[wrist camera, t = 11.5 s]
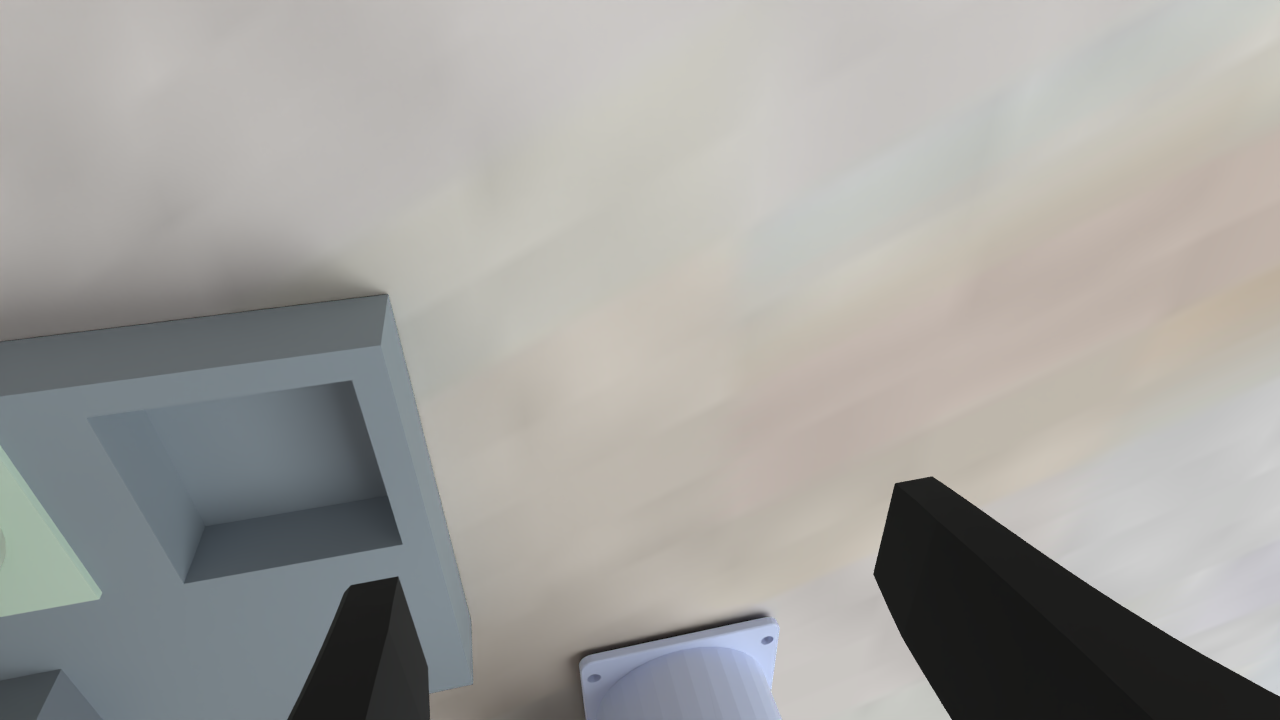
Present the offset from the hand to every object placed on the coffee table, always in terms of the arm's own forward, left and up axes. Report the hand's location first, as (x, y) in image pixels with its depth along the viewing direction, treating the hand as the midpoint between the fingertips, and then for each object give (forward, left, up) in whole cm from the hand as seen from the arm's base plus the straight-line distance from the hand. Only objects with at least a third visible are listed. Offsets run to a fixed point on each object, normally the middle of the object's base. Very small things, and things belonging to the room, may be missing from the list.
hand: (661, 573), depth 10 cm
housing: (-6, +12, -10) cm, 17 cm away
